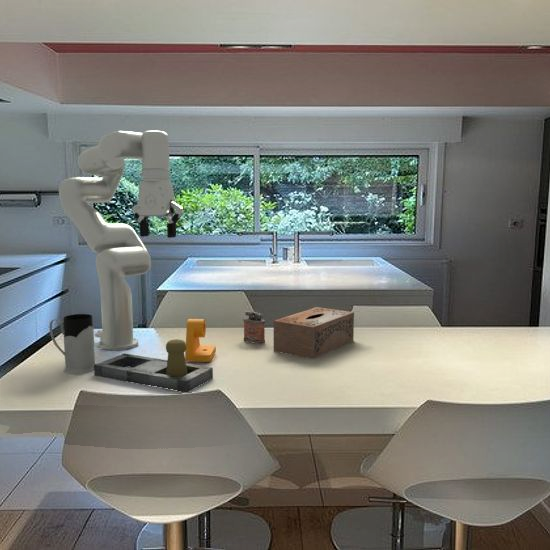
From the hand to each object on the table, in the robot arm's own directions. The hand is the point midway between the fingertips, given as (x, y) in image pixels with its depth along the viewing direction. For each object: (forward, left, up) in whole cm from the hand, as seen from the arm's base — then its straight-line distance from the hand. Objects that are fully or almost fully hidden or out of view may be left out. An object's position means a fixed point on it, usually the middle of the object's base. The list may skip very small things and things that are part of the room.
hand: (158, 236), depth 157 cm
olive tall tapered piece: (+16, -14, -36) cm, 42 cm away
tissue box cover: (+35, +34, -37) cm, 61 cm away
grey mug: (-17, -18, -36) cm, 44 cm away
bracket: (+10, +6, -37) cm, 38 cm away
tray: (+8, -14, -36) cm, 40 cm away
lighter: (+15, +30, -36) cm, 50 cm away
